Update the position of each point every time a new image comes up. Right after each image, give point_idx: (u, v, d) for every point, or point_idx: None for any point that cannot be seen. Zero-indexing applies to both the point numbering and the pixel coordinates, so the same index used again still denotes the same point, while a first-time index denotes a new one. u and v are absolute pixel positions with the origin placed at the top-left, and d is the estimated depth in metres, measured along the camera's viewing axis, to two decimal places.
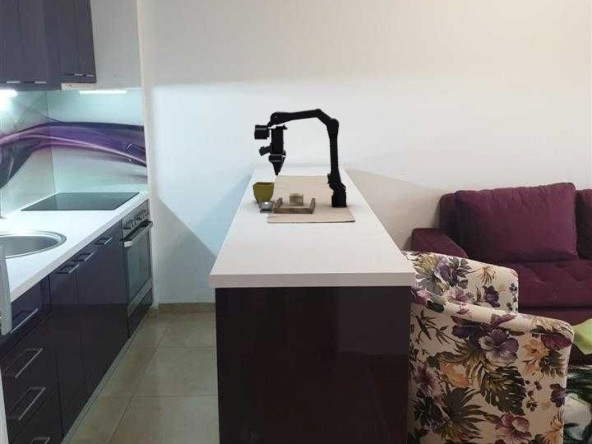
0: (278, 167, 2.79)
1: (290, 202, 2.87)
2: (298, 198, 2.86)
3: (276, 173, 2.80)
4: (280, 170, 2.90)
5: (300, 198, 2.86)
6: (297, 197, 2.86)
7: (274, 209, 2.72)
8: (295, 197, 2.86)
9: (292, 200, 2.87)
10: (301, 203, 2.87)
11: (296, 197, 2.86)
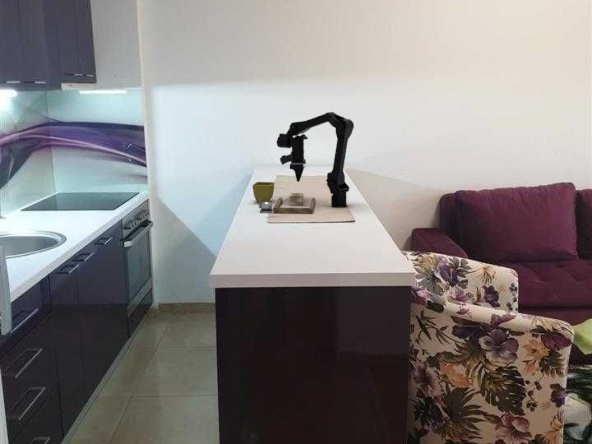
0: (300, 174, 2.94)
1: (290, 202, 2.87)
2: (298, 198, 2.86)
3: (298, 179, 2.96)
4: (299, 179, 2.96)
5: (300, 198, 2.86)
6: (297, 197, 2.86)
7: (274, 209, 2.72)
8: (295, 197, 2.86)
9: (292, 200, 2.87)
10: (301, 203, 2.87)
11: (296, 197, 2.86)
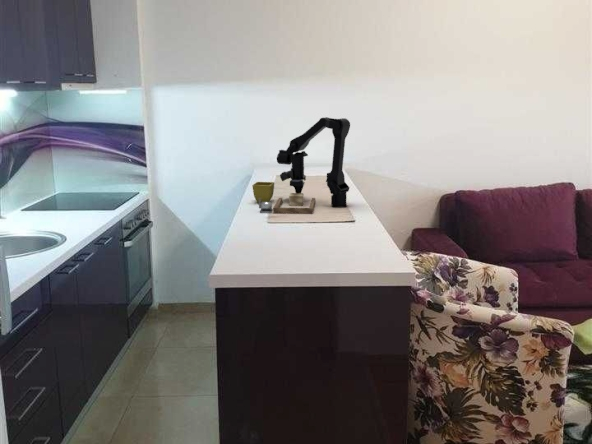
0: (299, 190, 2.96)
1: (290, 202, 2.87)
2: (298, 198, 2.86)
3: None
4: None
5: (300, 198, 2.86)
6: (297, 197, 2.86)
7: (274, 209, 2.72)
8: (295, 197, 2.86)
9: (292, 200, 2.87)
10: (301, 203, 2.87)
11: (296, 197, 2.86)
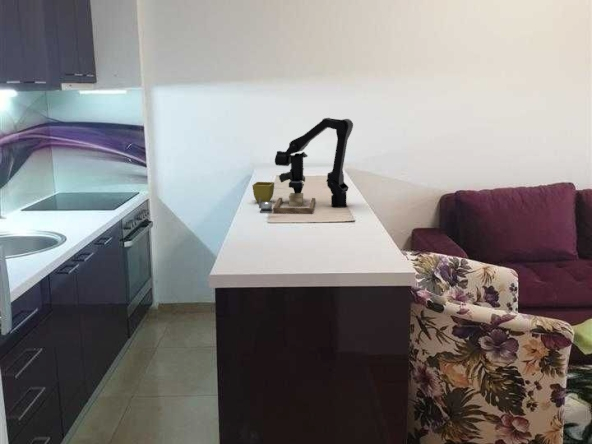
0: (299, 191, 2.92)
1: (290, 202, 2.87)
2: (298, 198, 2.86)
3: None
4: None
5: (300, 198, 2.86)
6: (297, 197, 2.86)
7: (274, 209, 2.72)
8: (295, 197, 2.86)
9: (292, 200, 2.86)
10: (301, 203, 2.87)
11: (296, 197, 2.86)
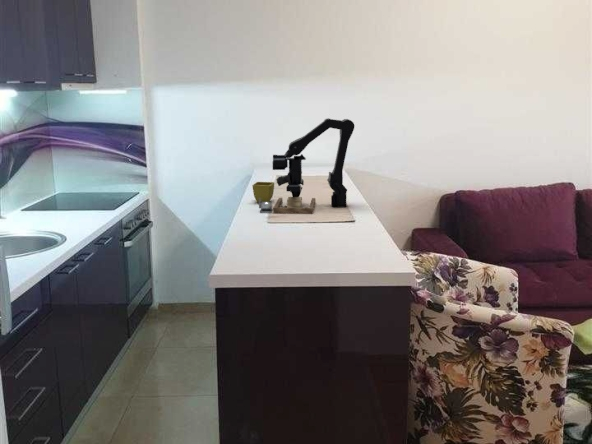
0: (297, 195, 2.83)
1: (288, 206, 2.77)
2: (296, 202, 2.77)
3: None
4: None
5: (298, 202, 2.77)
6: (295, 201, 2.77)
7: (274, 209, 2.72)
8: (293, 201, 2.77)
9: (290, 204, 2.77)
10: (299, 207, 2.77)
11: (294, 201, 2.77)
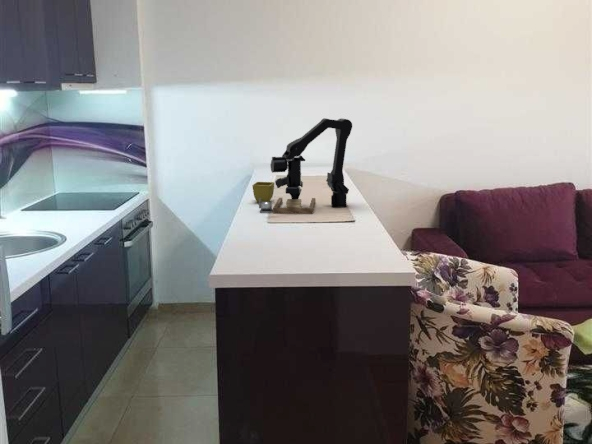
0: (296, 198, 2.78)
1: None
2: (295, 204, 2.72)
3: None
4: None
5: (298, 204, 2.72)
6: (294, 203, 2.72)
7: (274, 209, 2.72)
8: (292, 203, 2.72)
9: (289, 206, 2.72)
10: None
11: (293, 203, 2.72)
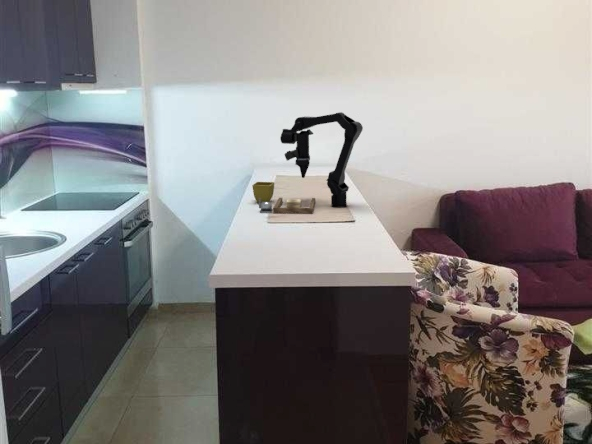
0: (305, 170, 2.89)
1: None
2: (295, 205, 2.72)
3: (303, 175, 2.91)
4: (304, 175, 2.91)
5: (298, 205, 2.72)
6: (294, 204, 2.72)
7: (274, 209, 2.72)
8: (292, 204, 2.72)
9: (289, 206, 2.72)
10: None
11: (293, 204, 2.72)
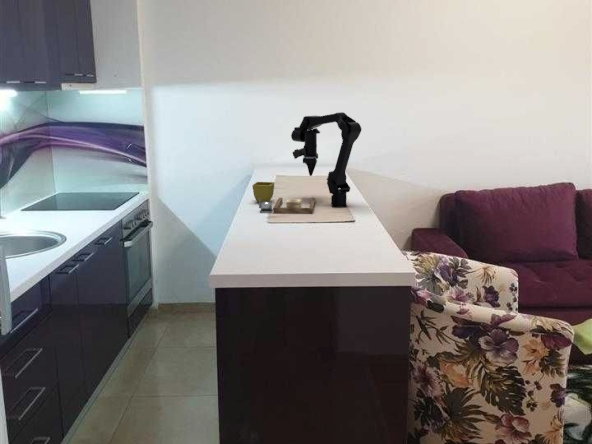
0: (312, 168, 2.94)
1: None
2: (295, 205, 2.72)
3: (310, 173, 2.96)
4: (312, 173, 2.96)
5: (298, 205, 2.72)
6: (294, 204, 2.72)
7: (274, 209, 2.72)
8: (292, 204, 2.72)
9: (289, 206, 2.72)
10: None
11: (293, 204, 2.72)
